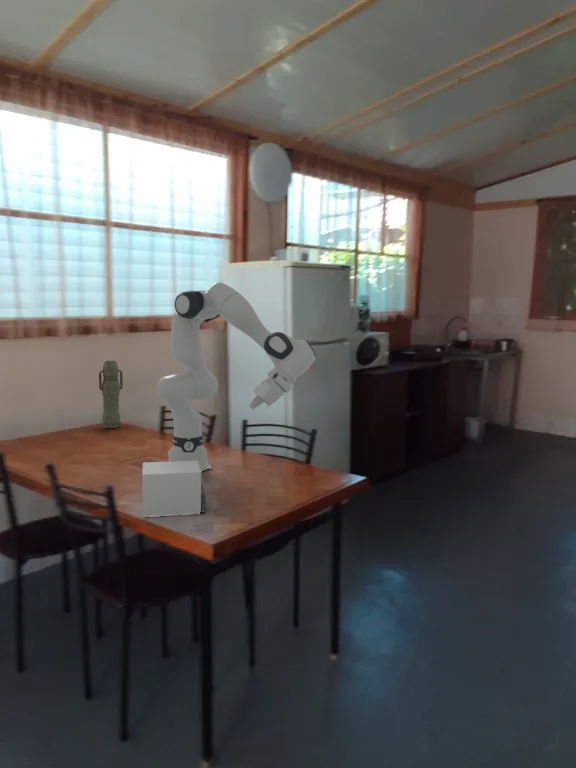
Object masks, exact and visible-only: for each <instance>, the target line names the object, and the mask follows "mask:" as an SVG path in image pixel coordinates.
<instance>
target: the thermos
mask: <svg viewBox="0 0 576 768" xmlns="http://www.w3.org/2000/svg"><path fill="white" fill-rule="evenodd" d="M123 374H124V373H123V371H122V370H121V369H119V366H118V362H117V361H116V360H106V361H104V363H103V366H102V370H100V371H99V373H98V389H99V390H100V391H101V394H102V396H103V398H102V400H103V401H102V402H103V403H102V405H103V406H102V407H103V408H102V409H103V413H102V428H103V429H104V428H117V429H119V428H118V427H120V428H121V424H120V423H121V414H120V395H121V394H120V393H121V390H123V388H124V387H123V386H124V383H123V379H124V378H123V377H124V375H123ZM102 375H103V381H102Z"/></svg>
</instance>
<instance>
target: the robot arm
mask: <svg viewBox="0 0 576 768" xmlns="http://www.w3.org/2000/svg"><path fill="white" fill-rule="evenodd" d="M174 309H175V313H173V316H172V321H171V353H172V354H171V355H172V358H173V360H174V361H175V362H176V363H178V364H180V365H181V366H182V367H183V369H184V371H185V373H173V374H168V375H166V376H163V377H161V378H159V380H158V382H157V384H156V394H157V396H158V397H159V400H161V401H162V402H164V403H165V404H166V405H167V407H169V410H170V411H171V414H172V419H173V435H172V447H171V448H170V449H169V451H168V452H167V457H168V460H167V462H174V461H198V463H199V467H200V470H201V473H203V472H202V471H204V470H206V469H210V468H212V465H210V463H208V450H207V448H206V447H205V446H204V445H203V444H204V435H203V417H202V415H201V413H199V412H198V411H196V410H195V409H193V408H192V406H191V402H192V401H193V402H194V401H202V400H207V399H209V398H213V397H215V396H216V395H217V392H218V389H219V382H218V379H217V377H216V376H215V375H214V374H213V373H211V372H210V371H209V370H208V368H207V367H206V365H205V362H204V360H203V355H202V346H201V333H200V332H201V331H200V329H201V328H200V327H201V324H202V323H203V322H204V323H208V322H211V321H212V320H215V319H218V318H219V317H221V318H222V319H223V320H224V321H226V322H227V323H228V324H230V325H231V326H233V327H234V328H236V329H238V331H241V332H242V333H244V334H245V335H246V336H247V337H249V338H251V339H252V340H253V341H254V342H256V343H257V344H258V345H259V346H260V347H261V348H262V349H263V350H264V351H265V353H266V355H267V356H268V358H269V359H270V361H271V362H272V363H273V365H274V366H273V367H272V368H271V369H269V372H267V373H266V375H267V376H268V377H266V378H264V379H263V380H262V381H261V382H260V383H259V384H257V385H256V386H255V388H254V389H253V391H252V392H253V393H254V394H255V395H256V396H255V397H254V398H253V400H252V402H250V403H249V405H248V406H249V408H251V410H252V411H253V410H255V409H256V408H257V407H259V406H261V405H262V404H263V403H265V404H266V405H267V406H270V407H271V406H272V405H273V404H274V403H276V402H277V401H278V400H279V399H280V398H281V397H283V396H284V394H285V393H287V394H288V392H290V391H291V389H292V386H293V385H294V384H295V382H296V381H297V380H298V379H299V377H300V376H302V375H303V374H305V372H307V370H309V369H310V367H311V366H312V365H313V364H314V363H315V361H316V359H317V354H316V351H315V350H314V348H313V347H312V345H311V344H310V343H309V342H308V341H307V340H306V339H305V340H304V339H296V338H295V337H294V338H293V337H291V336H289V335H287V334H285V333H284V332H280V331H275V332H273V333H272V332H270V330H269V329H268V328H266V326H265V325H264V324H263V323H262V321H261V319H260V318H259V316H258V315H257V312H256V311H255V309H254V307H253V306H252V305H251V303H250V302H249V301H248V300H247V298H245V297H244V296H243V295H242V294H241V293H240V292H239V291H237V290H236V289H234V288H233V287H231V286H230V285H228V284H226V283H224V282H216V283H213V284H212V285H211V286H210V287H209V288H208V290H189V289H188V290H185V291H184V290H183V291H182V292H180V293H178V295H176V297H175V299H174ZM210 470H211V469H210ZM206 471H207V470H206ZM204 472H205V471H204Z"/></svg>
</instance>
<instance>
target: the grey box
mask: <svg viewBox="0 0 576 768" xmlns="http://www.w3.org/2000/svg"><path fill="white" fill-rule="evenodd" d="M141 480H142V483H141V484H142V517H143V516H149V515H165V514H178V513H193V512H201V482H202V472H201V470H200V467H199V463H198V461H174V462H168V461H150V462H149V461H148V462H142V479H141ZM201 513H202V512H201Z"/></svg>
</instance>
